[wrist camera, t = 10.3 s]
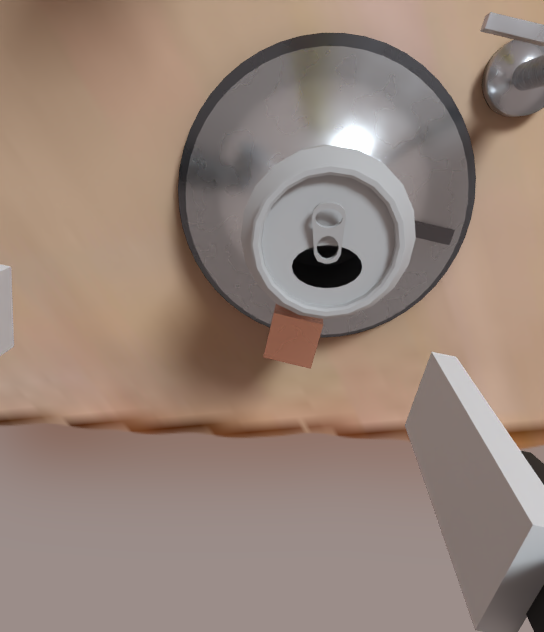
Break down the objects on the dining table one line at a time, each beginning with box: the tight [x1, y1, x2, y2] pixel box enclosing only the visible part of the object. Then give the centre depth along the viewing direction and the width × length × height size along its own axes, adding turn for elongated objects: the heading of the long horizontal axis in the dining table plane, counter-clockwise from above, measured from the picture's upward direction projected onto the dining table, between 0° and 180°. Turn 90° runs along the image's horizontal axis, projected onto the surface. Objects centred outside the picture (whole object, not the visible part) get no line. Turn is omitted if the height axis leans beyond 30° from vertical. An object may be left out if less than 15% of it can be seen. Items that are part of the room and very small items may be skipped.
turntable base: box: [178, 33, 476, 337], centre depth 31 cm, size 20×20×1 cm
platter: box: [186, 46, 469, 369], centre depth 27 cm, size 18×18×6 cm
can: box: [241, 144, 416, 319], centre depth 23 cm, size 8×8×12 cm
